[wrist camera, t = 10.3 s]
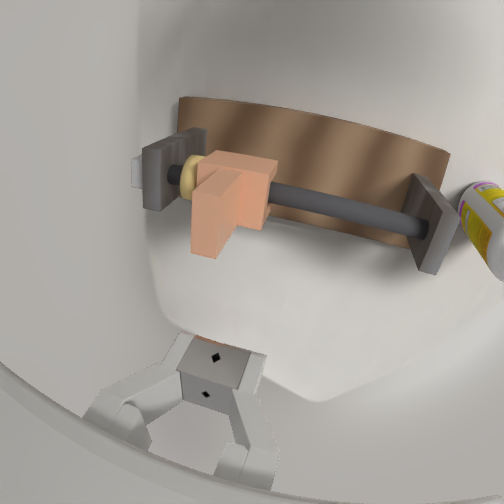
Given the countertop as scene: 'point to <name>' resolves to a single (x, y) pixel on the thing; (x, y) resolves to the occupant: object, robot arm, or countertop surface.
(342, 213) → the dark gray rod
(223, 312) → the countertop surface
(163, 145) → the towel rod holder
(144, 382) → the robot arm
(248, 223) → the peach stepped block
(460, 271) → the countertop surface
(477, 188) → the supplement bottle
